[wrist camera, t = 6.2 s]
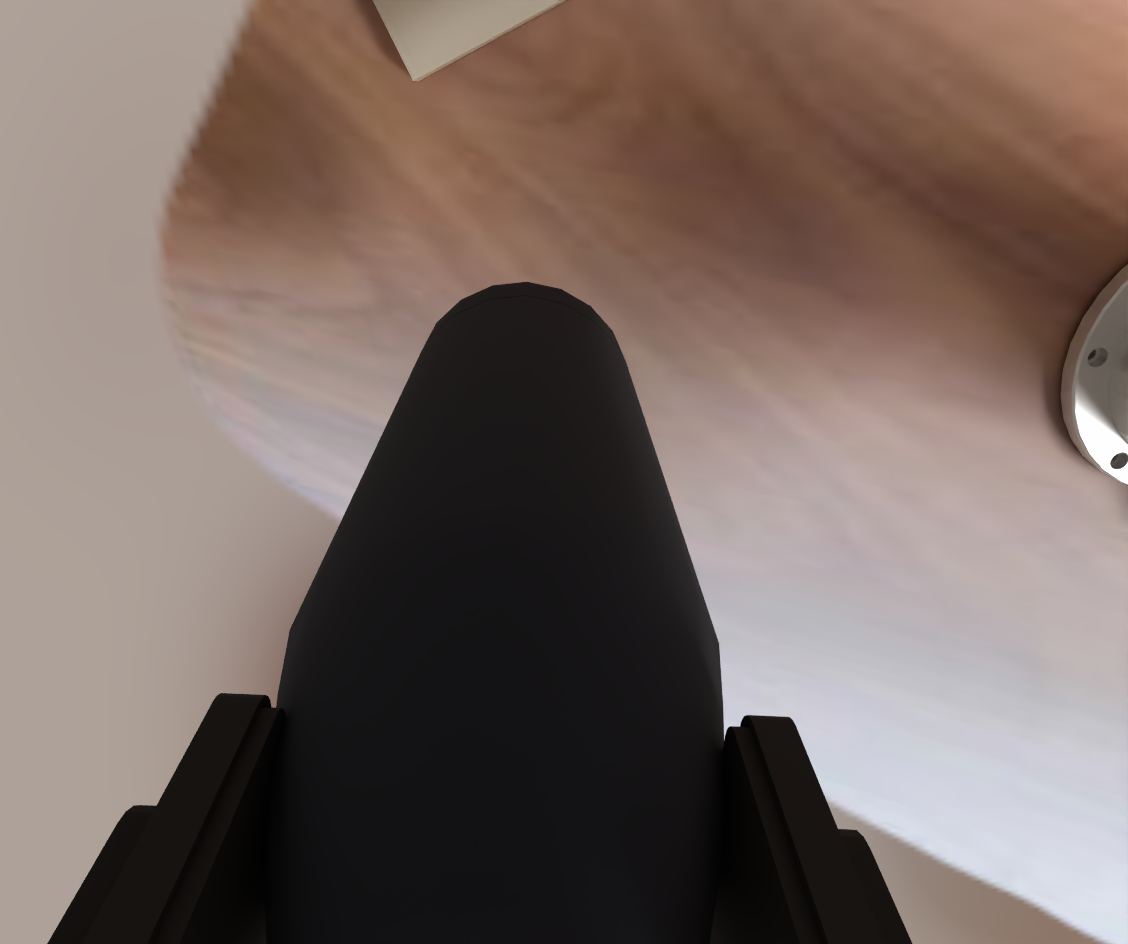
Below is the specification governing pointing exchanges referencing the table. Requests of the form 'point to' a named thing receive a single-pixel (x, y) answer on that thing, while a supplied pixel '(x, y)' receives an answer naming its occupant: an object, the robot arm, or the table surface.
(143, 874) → the robot arm
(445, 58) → the bottle stand
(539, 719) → the wine bottle
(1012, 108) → the table surface
